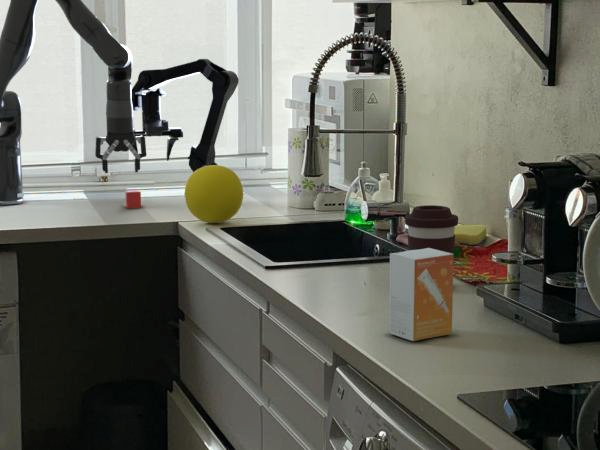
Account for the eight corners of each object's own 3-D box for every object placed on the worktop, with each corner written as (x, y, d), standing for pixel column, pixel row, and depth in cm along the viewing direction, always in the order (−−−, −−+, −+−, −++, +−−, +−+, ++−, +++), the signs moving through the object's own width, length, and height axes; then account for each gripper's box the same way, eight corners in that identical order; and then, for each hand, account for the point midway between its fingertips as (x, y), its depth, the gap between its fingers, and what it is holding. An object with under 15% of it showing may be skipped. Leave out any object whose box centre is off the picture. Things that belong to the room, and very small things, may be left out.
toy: (233, 216, 283) (232, 161, 280) (250, 224, 269) (249, 166, 266) (179, 219, 278) (177, 163, 275) (194, 228, 264) (192, 169, 261)
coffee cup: (400, 280, 202) (400, 204, 200) (450, 279, 203) (451, 203, 201) (409, 292, 193) (410, 212, 190) (462, 291, 193) (463, 211, 191)
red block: (127, 208, 300) (126, 192, 299) (125, 206, 304) (125, 190, 303) (141, 207, 301) (140, 191, 300) (139, 205, 305) (139, 189, 304)
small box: (413, 342, 160) (414, 259, 158) (387, 333, 165) (388, 252, 163) (453, 334, 164) (454, 253, 162) (427, 325, 170) (428, 246, 168)
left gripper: (95, 117, 291) (97, 175, 294) (146, 116, 295) (148, 173, 298) (93, 115, 298) (95, 171, 301) (143, 114, 302) (144, 170, 305)
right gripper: (122, 113, 313) (124, 164, 316) (184, 111, 318) (186, 162, 320) (119, 111, 324) (121, 161, 326) (179, 109, 328) (181, 159, 331)
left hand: (121, 172), depth 299 cm, fingers open, 8 cm apart
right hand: (152, 161), depth 326 cm, fingers open, 9 cm apart
